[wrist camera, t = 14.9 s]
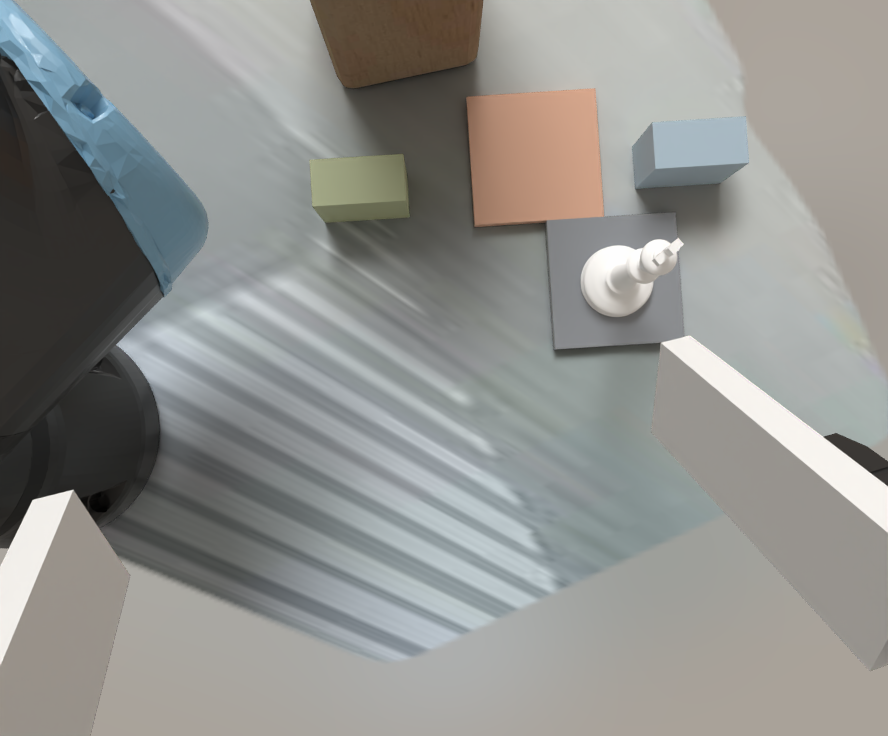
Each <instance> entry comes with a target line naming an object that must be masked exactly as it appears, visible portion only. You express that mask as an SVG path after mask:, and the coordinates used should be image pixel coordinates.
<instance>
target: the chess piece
mask: <svg viewBox="0 0 888 736" xmlns="http://www.w3.org/2000/svg"><path fill="white" fill-rule="evenodd" d="M682 245H684V244H683V243H682V241H681V240H680V239H679V238H678V239H676V240H675V241H674V242H672V243H669V242H668V241H665V240H661V239H657V240H653V241H650V242H649V243H647V244H646V245H645V246H644V248H640V249H637V250H635V249H633V248H630V247H627V246H621V245H616V246H610V247H606V248H603V249H601V250H599V251H597V252H596V253H594V254H593V255H592V256H591V257H590V258H589V259H588V260H587V262H586V263H585V265H584V267H583V270H582V273H581V290H582V293H583V296H584V298H585V299H586V301H587V303H588V304H589V305H590V306H591V307H592V308H593V309H594V310H596V311H597V312H599V313H601V314H603V315H606V316H610V317H622V316H627V315H629V314H632V313H634V312H635V311H637V310H638V309H639V308H641V307H642V306H643V305H644V304H645V302H646V301H647V300H648V298H649V296H650V294H651V292H652V288H653V281H654V280H656V279H657V278H658V276H661V275H665V274H667V273H669V272H670V271H672V270H673V268H674V267H675V265H676V262H677V251H678V250H680V249H679V248H680V247H681V246H682Z"/></svg>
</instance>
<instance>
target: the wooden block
mask: <svg viewBox="0 0 888 736" xmlns="http://www.w3.org/2000/svg"><path fill="white" fill-rule="evenodd" d="M310 2H311V5H312V7H313V10H314V13H315V16H316V18H317V21H318V24H319V27H320V30H321V32H322V35H323V38H324V41H325V44H326V46H327V49H328V52H329V55H330V58H331V60H332V63H333V66H334V69H335V71H336V74H337V77H338V78H339V80H340V81H341V82H342V84H343V85H344V86H345V87H348V88H359V87H364V86H369V85H373V84H378V83H383V82H388V81H392V80H397V79H402V78H407V77H411V76H416V75H421V74H426V73H430V72H435V71H440V70H445V69H449V68H454V67H459V66H464V65H467V64H469V63H470V62H472V61H474V60H475V59H476V57H477V52H478V47H479V37H480V27H481V18H482V8H483V0H310Z"/></svg>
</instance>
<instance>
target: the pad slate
mask: <svg viewBox="0 0 888 736" xmlns="http://www.w3.org/2000/svg"><path fill="white" fill-rule="evenodd" d="M545 228H546V243H547V258H548V273H549V288H550V303H551V318H552V333H553V348H554V350H556V349H571V348H587V347H602V346H618V345H634V344H649V343H662V342H666V341H670V340H674V339H678V338H682V337H684V323H683V309H682V295H681V281H680V266H679V252H678V251H677V262H676V265H675V267H674V268H673V270H672V271H670V272H669V273H667V274H665V275H661V276H658V278H657V279H656V280H654V281H653V288H652V292H651V294H650V296H649V298H648V300H647V301H646V302H645V304H644V305H643V306H642V307H641V308H639V309H638V310H637V311H635V312H634V313H632V314H629V315H627V316H622V317H610V316H606V315H603V314H601V313H599V312H597V311H596V310H594V309H593V308H592V307H591V306H590V305H589V304H588V303H587V301H586V299H585V298H584V296H583V293H582V290H581V273H582V270H583V267H584V265H585V263H586V262H587V260H588V259H589V258H590V257H591V256H592V255H593V254H594V253H596V252H597V251H599V250H601V249H603V248H606V247H610V246H616V245H621V246H627V247H630V248H633V249H635V250H637V249H640V248H644V246H645V245H646V244H647V243H649V242H650V241H653V240H657V239H661V240H665V241H668V242H669V243H672V242H674V241H675V240H676V239H678V238H677V224H676V212H668V213H652V214H637V215H621V216H606V217H590V218H574V219H559V220H547V221H546V222H545Z"/></svg>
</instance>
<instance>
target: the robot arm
mask: <svg viewBox="0 0 888 736" xmlns="http://www.w3.org/2000/svg"><path fill="white" fill-rule="evenodd" d="M207 233H208V218H207V213H206V211H205V209H204V207H203V205H202V203H201V202H200V200H199V199H198V198H197V196H196V195H195V194H194V193H193V191H192V190H191V189H190V188H189V187H188V185H187V184H186V183H185V182H184V181H183V180H182V178H181V177H180V176H179V175H178V174H177V173H176V172H175V171H174V169H173V168H172V167H171V166H170V165H169V164H168V163H167V162H166V160H165V159H164V158H163V157H162V156H161V155H160V154H159V153H158V152H157V151H156V150H155V148H154V147H153V146H152V145H151V144H150V143H149V142H148V141H147V140H146V139H145V138H144V137H143V135H142V134H141V133H140V132H139V131H138V130H137V129H136V128H135V127H134V126H133V125H132V124H131V123H130V122H129V121H128V120H127V118H126V117H125V116H124V115H123V114H122V113H121V112H120V111H119V110H118V109H117V108H116V107H115V106H114V105H113V104H112V103H111V102H110V101H109V100H107V99H106V98H105V97H104V96H103V95H102V94H101V92H100V90H99V89H98V88H97V87H96V86H95V85H94V84H93V83H92V82H91V81H90V80H89V79H88V78H87V77H86V76H85V74H84V73H83V72H82V71H81V70H80V69H79V68H78V67H77V65H76V64H75V63H74V62H73V61H72V60H71V59H70V58H69V57H68V56H67V54H66V53H65V52H64V51H63V50H62V49H61V48H60V47H59V46H58V45H57V44H56V43H55V42H54V41H53V40H52V39H51V38H50V37H49V36H48V35H47V34H46V33H45V32H44V30H43V29H42V28H41V27H40V26H39V25H38V24H37V23H36V22H35V21H34V20H33V19H32V18H31V17H30V16H29V15H28V14H27V13H26V12H25V11H24V10H23V9H22V8H21V7H20V6H19V5H18V4H17V3H16V2H15V1H14V0H0V548H9V549H8V551H7V554H6V556H5V558H4V560H3V562H2V564H1V566H0V736H90V735H91V731H92V727H93V723H94V719H95V715H96V711H97V707H98V703H99V699H100V695H101V691H102V687H103V683H104V679H105V675H106V671H107V667H108V663H109V659H110V655H111V651H112V647H113V643H114V639H115V635H116V631H117V627H118V623H119V619H120V615H121V611H122V606H123V603H124V599H125V595H126V591H127V587H128V583H129V578H130V574H129V573H128V571H127V570H126V568H125V567H124V565H123V564H122V562H121V561H120V559H119V558H118V556H117V555H116V553H115V552H114V550H113V549H112V547H111V546H110V544H109V543H108V541H107V540H106V538H105V537H104V535H103V534H102V532H101V531H100V529H99V528H101V527H103V526H105V525H106V524H108V523H110V522H111V521H112V520H114V519H115V518H117V517H118V516H119V515H120V514H121V513H123V512H124V511H125V510H126V509H127V508H128V507H129V506H130V505H131V504H132V502H133V501H134V500H135V499H136V498H137V496H138V495H139V494H140V492H141V490H142V489H143V487H144V486H145V484H146V482H147V480H148V478H149V476H150V474H151V471H152V469H153V466H154V463H155V459H156V455H157V450H158V443H159V419H158V412H157V407H156V403H155V400H154V397H153V394H152V391H151V389H150V386H149V384H148V382H147V380H146V379H145V377H144V375H143V374H142V372H141V371H140V369H139V368H138V366H137V365H136V364H135V363H134V361H133V360H132V359H131V358H130V357H129V356H128V355H127V354H126V353H125V352H124V351H123V350H122V349H120V348H119V347H118V346H117V345H116V344H117V343H118V342H119V341H120V340H121V339H122V338H123V337H124V336H125V335H126V334H127V333H128V332H129V331H130V330H131V329H132V328H133V327H134V326H135V325H136V324H137V323H138V322H139V321H140V320H141V319H142V318H143V317H144V316H145V315H146V314H147V313H148V312H149V311H150V309H151V308H152V307H153V306H154V305H155V304H156V303H157V302H158V301H159V300H160V299H161V298H162V297H165V296H166V295H167V294H168V293H169V292H170V291H171V289H172V283H173V282H174V281H175V280H176V278H177V277H178V276H179V275H180V274H181V272H182V271H183V270H184V269H185V267H186V266H187V265H188V264H189V263H190V261H191V260H192V259H193V258H194V257H195V255H196V254H197V253H198V252H199V251H200V249H201V248H202V247H203V245H204V243H205V241H206V238H207V237H206V236H207ZM651 433H652V434H653V435H654V436H655V437H656V438H657V439H658V440H659V441H660V443H661V444H662V445H663V446H664V447H665V448H666V449H667V450H668V451H669V452H670V453H671V455H672V456H673V457H674V458H675V459H676V460H677V461H678V462H679V463H680V464H681V465H682V467H683V468H684V469H685V470H686V471H687V472H688V473H689V474H690V475H691V476H692V478H693V479H694V480H695V481H696V482H697V483H698V484H699V485H700V486H701V487H702V488H703V490H704V491H705V492H706V493H707V494H708V495H709V496H710V497H711V498H712V499H713V500H714V502H715V503H716V504H717V505H718V506H719V507H720V508H721V509H722V510H723V511H724V512H725V514H726V515H727V516H728V517H729V518H730V519H731V520H732V521H733V522H734V523H735V524H736V526H737V527H738V528H739V529H740V530H741V531H742V532H743V533H744V534H745V535H746V536H747V538H748V539H749V540H750V541H751V542H752V543H753V544H754V545H755V546H756V547H757V548H758V550H759V551H760V552H761V553H762V554H763V555H764V556H765V557H766V558H767V559H768V561H769V562H770V563H771V564H772V565H773V566H774V567H775V568H776V569H777V570H778V572H779V573H780V574H781V575H782V576H783V577H784V578H785V579H786V580H787V581H788V582H789V584H790V585H791V586H792V587H793V588H794V589H795V590H796V591H797V592H798V593H799V594H800V595H801V597H802V598H803V599H804V600H805V601H806V602H807V603H808V604H809V605H810V606H811V608H812V609H813V610H814V611H815V612H816V613H817V614H818V615H819V616H820V617H821V618H822V620H823V621H824V622H825V623H826V624H827V625H828V626H829V627H830V628H831V629H832V631H833V632H834V633H835V634H836V635H837V636H838V637H839V638H840V639H841V640H842V641H843V642H844V644H845V645H846V646H847V647H848V648H849V649H850V650H851V651H852V652H853V653H854V655H855V656H856V657H857V658H858V659H859V660H860V661H861V662H862V663H863V664H864V665H865V666H866V668H867V669H868V670H869V671H873V670H875V669H878V668H881V667H883V666H886V665H888V461H887V460H885V459H884V458H882V457H881V456H879V455H878V454H877V453H875V452H874V451H873V450H871V449H870V448H868V447H867V446H865V445H862V444H860V443H858V442H855V441H853V440H851V439H849V438H846V437H844V436H842V435H839V434H837V433H835V434H832V435H828V436H825V437H822V436H821V435H820V434H818V433H817V432H816V431H815V430H813V429H812V428H811V427H809V426H808V425H807V424H805V423H804V422H803V421H801V420H800V419H799V418H797V417H796V416H795V415H794V414H792V413H791V412H790V411H788V410H787V409H786V408H784V407H783V406H782V405H780V404H779V403H778V402H776V401H775V400H774V399H773V398H771V397H770V396H769V395H767V394H766V393H765V392H763V391H762V390H761V389H759V388H758V387H757V386H755V385H754V384H753V383H752V382H750V381H749V380H748V379H746V378H745V377H744V376H742V375H741V374H740V373H738V372H737V371H736V370H734V369H733V368H732V367H731V366H729V365H728V364H727V363H725V362H724V361H723V360H721V359H720V358H719V357H717V356H716V355H715V354H713V353H712V352H711V351H710V350H708V349H707V348H706V347H704V346H703V345H702V344H700V343H699V342H698V341H696V340H695V339H694V338H692V337H691V336H686V337H682V338H678V339H674V340H670V341H666V342H662V343H661V346H660V355H659V364H658V373H657V382H656V391H655V400H654V410H653V419H652V428H651Z"/></svg>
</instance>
